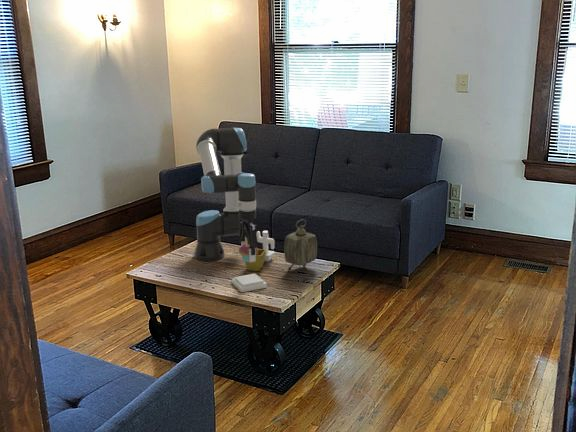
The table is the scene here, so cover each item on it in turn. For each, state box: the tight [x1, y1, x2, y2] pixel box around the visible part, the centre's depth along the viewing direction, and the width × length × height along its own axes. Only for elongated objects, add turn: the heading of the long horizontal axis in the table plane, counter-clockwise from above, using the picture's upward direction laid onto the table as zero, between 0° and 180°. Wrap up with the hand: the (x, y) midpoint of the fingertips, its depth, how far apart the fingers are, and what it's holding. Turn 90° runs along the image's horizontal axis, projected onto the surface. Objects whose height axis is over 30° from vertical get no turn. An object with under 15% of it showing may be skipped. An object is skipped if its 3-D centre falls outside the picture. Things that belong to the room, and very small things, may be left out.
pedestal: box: [231, 273, 268, 293], centre depth 272 cm, size 12×12×3 cm
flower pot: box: [244, 248, 266, 272], centre depth 290 cm, size 9×9×9 cm
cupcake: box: [238, 236, 259, 263], centre depth 267 cm, size 9×8×12 cm
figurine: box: [256, 230, 276, 262], centre depth 302 cm, size 7×9×15 cm
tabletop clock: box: [283, 218, 318, 272], centre depth 287 cm, size 14×9×25 cm, turn 136°
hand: (248, 258), depth 269 cm, fingers closed on cupcake, 8 cm apart
